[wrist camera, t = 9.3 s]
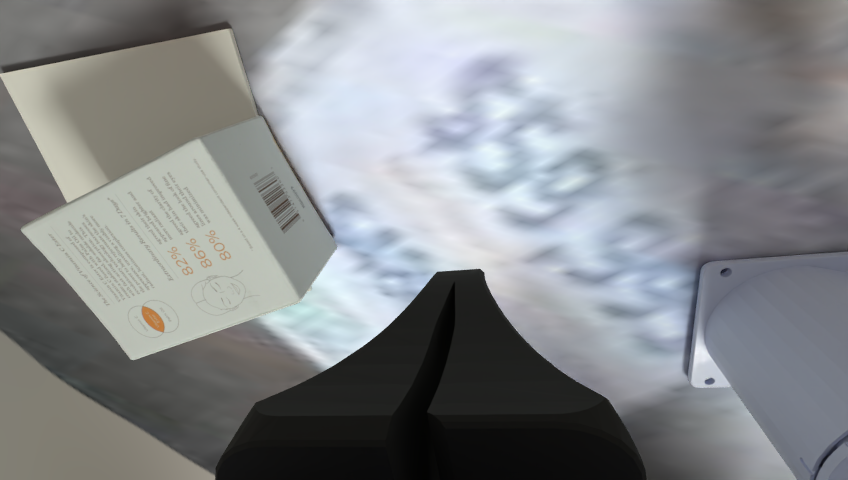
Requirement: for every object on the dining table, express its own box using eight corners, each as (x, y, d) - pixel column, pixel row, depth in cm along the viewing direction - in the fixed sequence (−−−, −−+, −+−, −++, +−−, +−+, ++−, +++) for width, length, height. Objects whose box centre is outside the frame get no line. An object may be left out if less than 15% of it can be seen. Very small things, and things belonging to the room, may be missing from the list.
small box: (264, 111, 21) (111, 186, 24) (195, 134, 16) (12, 226, 19) (341, 249, 24) (195, 301, 27) (303, 306, 19) (129, 363, 22)
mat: (232, 28, 20) (228, 28, 19) (311, 288, 25) (309, 291, 25) (5, 73, 22) (-1, 74, 22) (124, 302, 28) (121, 304, 27)
